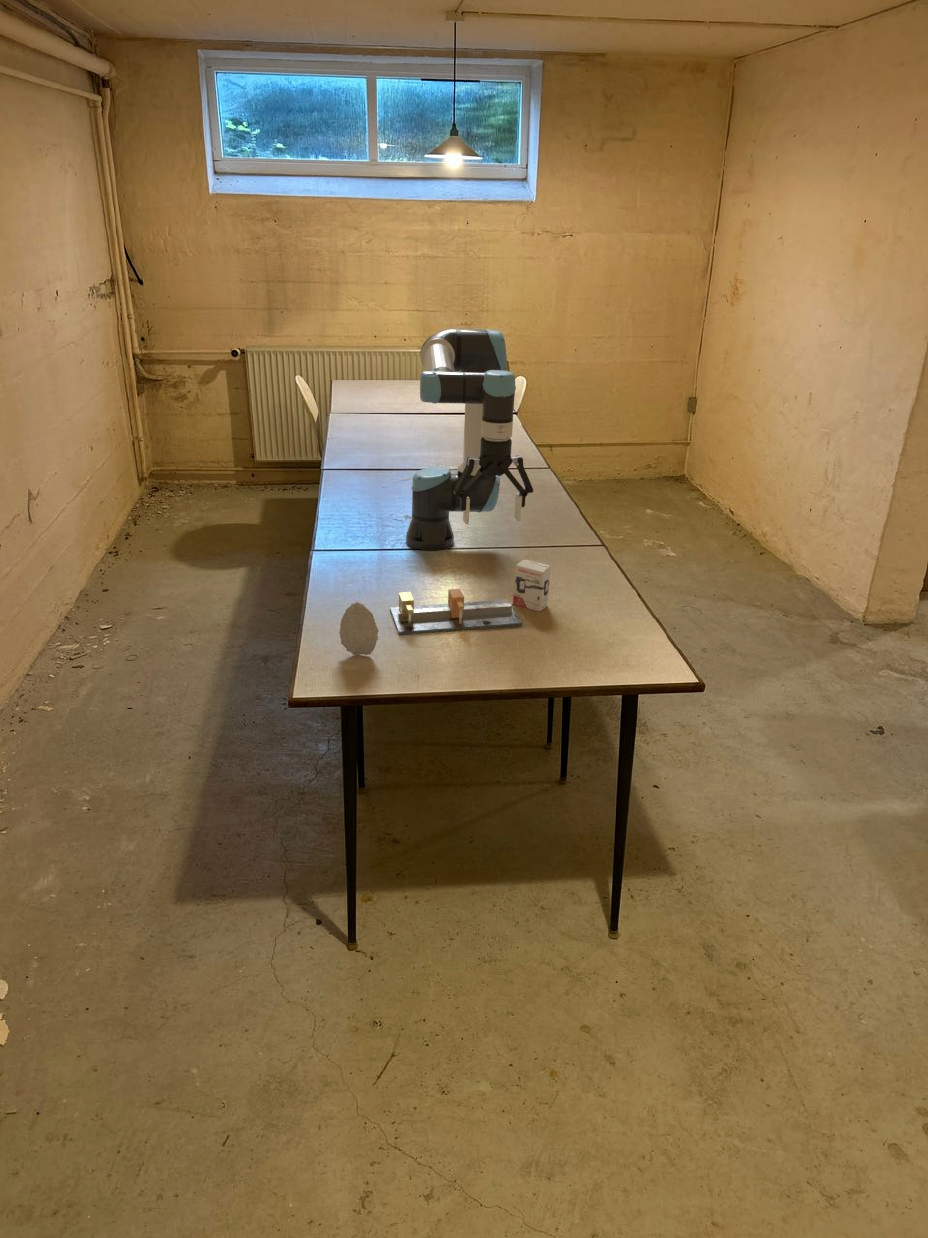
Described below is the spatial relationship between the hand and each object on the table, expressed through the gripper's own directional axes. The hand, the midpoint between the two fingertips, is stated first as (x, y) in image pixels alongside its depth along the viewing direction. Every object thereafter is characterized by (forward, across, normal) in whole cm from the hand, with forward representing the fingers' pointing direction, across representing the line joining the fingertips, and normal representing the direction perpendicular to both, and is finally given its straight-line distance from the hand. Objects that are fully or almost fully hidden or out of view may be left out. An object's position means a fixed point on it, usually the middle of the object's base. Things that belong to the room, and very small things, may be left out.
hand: (491, 520), depth 214 cm
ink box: (+26, +13, +2) cm, 29 cm away
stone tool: (+26, -37, -18) cm, 48 cm away
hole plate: (+26, -9, -2) cm, 27 cm away
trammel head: (+24, -9, -4) cm, 26 cm away
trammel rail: (+25, -9, -4) cm, 27 cm away
